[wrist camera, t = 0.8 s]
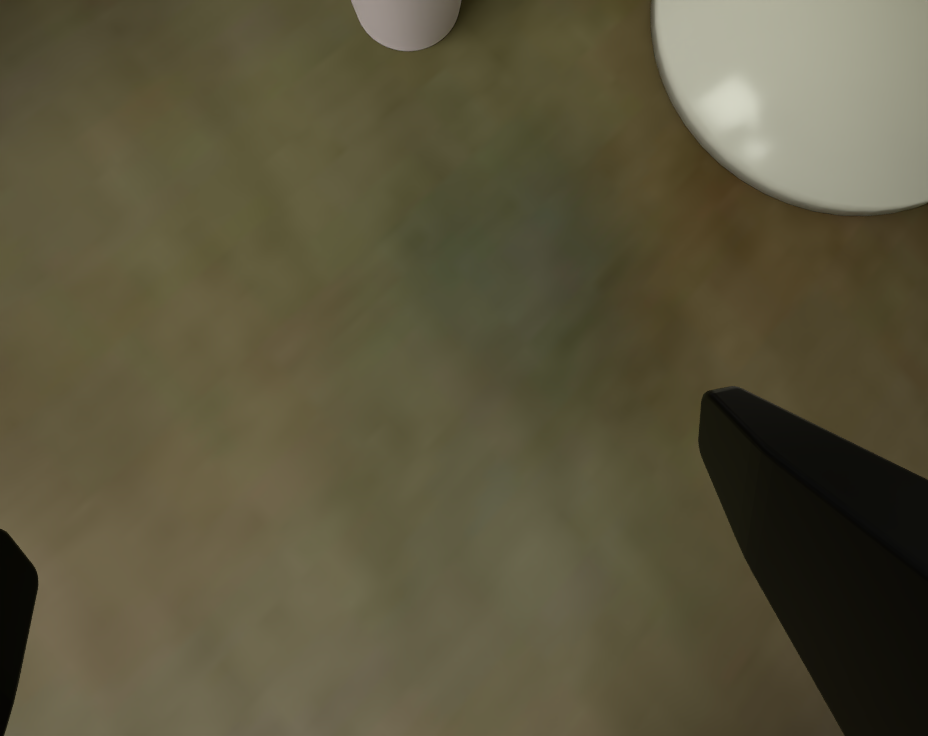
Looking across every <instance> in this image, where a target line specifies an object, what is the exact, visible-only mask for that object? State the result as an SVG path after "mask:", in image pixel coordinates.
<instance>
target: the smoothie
mask: <svg viewBox="0 0 928 736" xmlns="http://www.w3.org/2000/svg"><path fill="white" fill-rule="evenodd" d="M461 1H462V0H351V2H352V4H353V7H354V9H355V11H356V14H357V16H358V19H359V21H360V23H361V25H362V26H363V28H364V29H365V31H366V32H367V33H368V34H369V35H370V36H371V37H372V38H373V39H374V40H376V41H377V42H378V43H380V44H382V45H384V46H386V47H389V48H392V49H395V50H401V51H415V50H421V49H425V48H428V47H430V46H432V45H434V44H436V43H437V42H439V41H440V40H442V39H443V38H444V37H445V36H446V35H447V34H448V33H449V32H450V30H451V29H452V28H453V26H454V24H455V22H456V20H457V17H458V14H459V10H460V5H461Z"/></svg>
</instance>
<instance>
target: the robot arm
mask: <svg viewBox="0 0 928 736" xmlns="http://www.w3.org/2000/svg"><path fill="white" fill-rule="evenodd" d="M698 442H699V449H700V453H701V457H702V459H703V462H704V464H705V466H706V469H707V471H708V473H709V476H710V478H711V481H712V483H713V485H714V488H715V490H716V492H717V495H718V497H719V499H720V502H721V504H722V507H723V509H724V511H725V514H726V516H727V518H728V521H729V523H730V525H731V528H732V530H733V533H734V535H735V537H736V540H737V542H738V544H739V546H740V549H741V551H742V553H743V555H744V557H745V559H746V561H747V563H748V565H749V567H750V569H751V571H752V573H753V575H754V576H755V578H756V580H757V582H758V583H759V585H760V587H761V589H762V590H763V592H764V594H765V596H766V598H767V599H768V601H769V603H770V605H771V606H772V608H773V610H774V612H775V613H776V615H777V617H778V619H779V620H780V622H781V624H782V626H783V628H784V629H785V631H786V633H787V635H788V636H789V638H790V640H791V642H792V643H793V645H794V647H795V649H796V651H797V652H798V654H799V656H800V658H801V659H802V661H803V663H804V665H805V666H806V668H807V670H808V672H809V673H810V675H811V677H812V679H813V681H814V682H815V684H816V686H817V688H818V689H819V691H820V693H821V695H822V696H823V698H824V700H825V702H826V703H827V705H828V707H829V709H830V711H831V712H832V714H833V716H834V718H835V719H836V721H837V723H838V725H839V726H840V728H841V730H842V732H843V734H844V735H845V736H928V480H927V479H925V478H923V477H921V476H919V475H917V474H915V473H913V472H911V471H909V470H907V469H905V468H903V467H901V466H898V465H896V464H894V463H892V462H890V461H888V460H886V459H884V458H882V457H880V456H878V455H876V454H874V453H872V452H870V451H868V450H866V449H864V448H862V447H860V446H858V445H856V444H854V443H852V442H850V441H848V440H846V439H844V438H842V437H840V436H838V435H836V434H834V433H831V432H829V431H827V430H825V429H823V428H821V427H819V426H817V425H815V424H813V423H811V422H809V421H807V420H805V419H803V418H801V417H799V416H797V415H795V414H793V413H791V412H789V411H787V410H785V409H783V408H781V407H779V406H777V405H775V404H773V403H771V402H769V401H767V400H764V399H762V398H760V397H758V396H756V395H754V394H752V393H750V392H748V391H746V390H744V389H742V388H740V387H736V386H730V387H725V388H720V389H715V390H709V391H707V392H706V393H705V394H704V395H703V397H702V401H701V412H700V424H699V437H698ZM37 590H38V575H37V571H36V569H35V567H34V566H33V564H32V563H31V562H30V560H29V559H28V558H27V557H26V555H25V554H24V553H23V552H22V550H21V549H20V548H19V546H18V545H17V544H16V543H15V541H14V540H13V539H12V538H11V536H10V535H9V534H8V533H7V532H6V531H4V530H2V529H0V736H4V734H5V731H6V728H7V725H8V721H9V718H10V714H11V711H12V707H13V704H14V700H15V695H16V691H17V687H18V683H19V678H20V673H21V668H22V663H23V658H24V654H25V649H26V644H27V639H28V634H29V629H30V624H31V620H32V615H33V610H34V605H35V600H36V595H37Z"/></svg>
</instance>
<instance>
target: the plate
mask: <svg viewBox="0 0 928 736" xmlns="http://www.w3.org/2000/svg"><path fill="white" fill-rule="evenodd" d="M650 10H651V37H652V43H653V50H654V56H655V60H656V63H657V67H658V70H659V73H660V77H661V80H662V83H663V85H664V87H665V89H666V92H667V94H668V96H669V98H670V101H671V103H672V105H673V106H674V108H675V110H676V111H677V113H678V115H679V116H680V118H681V119H682V121H683V123H684V124H685V126H686V127H687V128H688V130H689V131H690V132H691V133H692V135H693V136H694V137H695V138H696V140H697V141H698V142H699V144H700V145H701V146H702V147H703V148H704V149H705V150H706V151H707V152H708V153H709V154H710V155H711V156H712V157H713V158H714V159H715V160H716V161H717V162H718V163H719V164H721V165H722V166H723V167H724V168H726V169H727V170H728V171H730V172H731V173H732V174H734V175H735V176H736V177H738V178H739V179H740V180H742V181H743V182H745V183H747V184H749V185H750V186H752V187H754V188H755V189H757V190H759V191H761V192H762V193H764V194H766V195H769V196H771V197H773V198H776V199H778V200H780V201H783V202H785V203H787V204H790V205H794V206H797V207H801V208H804V209H808V210H811V211H815V212H821V213H828V214H834V215H842V216H872V215H882V214H891V213H896V212H900V211H904V210H908V209H912V208H916V207H919V206H922V205H924V204H927V203H928V0H651V8H650Z"/></svg>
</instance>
